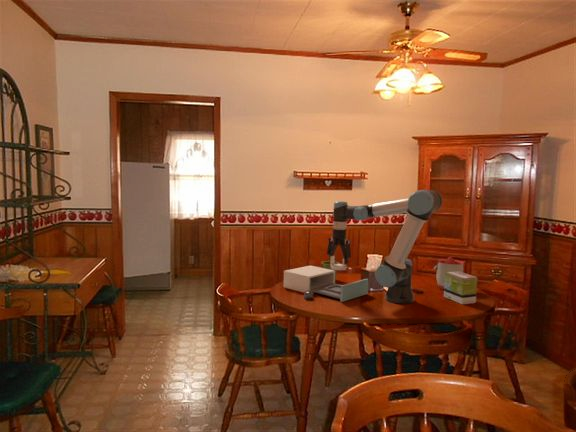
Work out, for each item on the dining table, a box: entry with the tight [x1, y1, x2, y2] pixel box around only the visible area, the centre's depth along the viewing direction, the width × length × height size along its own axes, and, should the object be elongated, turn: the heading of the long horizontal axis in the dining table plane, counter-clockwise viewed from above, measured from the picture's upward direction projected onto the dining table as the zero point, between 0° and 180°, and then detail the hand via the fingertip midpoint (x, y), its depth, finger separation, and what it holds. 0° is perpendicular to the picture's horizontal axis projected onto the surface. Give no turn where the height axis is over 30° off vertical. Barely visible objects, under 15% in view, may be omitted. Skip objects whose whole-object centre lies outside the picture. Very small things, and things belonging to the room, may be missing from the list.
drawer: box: [310, 278, 369, 303], centre depth 255 cm, size 24×24×9 cm
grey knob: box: [303, 291, 314, 301], centre depth 246 cm, size 5×5×4 cm
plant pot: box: [320, 260, 341, 281], centre depth 290 cm, size 12×12×11 cm
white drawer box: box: [283, 265, 336, 294], centre depth 270 cm, size 20×24×10 cm
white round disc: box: [331, 263, 343, 271], centre depth 255 cm, size 8×8×2 cm
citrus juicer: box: [433, 256, 465, 291], centre depth 273 cm, size 16×17×20 cm
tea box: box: [443, 271, 478, 305], centre depth 248 cm, size 15×10×15 cm, turn 21°
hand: (338, 268), depth 255 cm, fingers closed on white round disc, 8 cm apart
